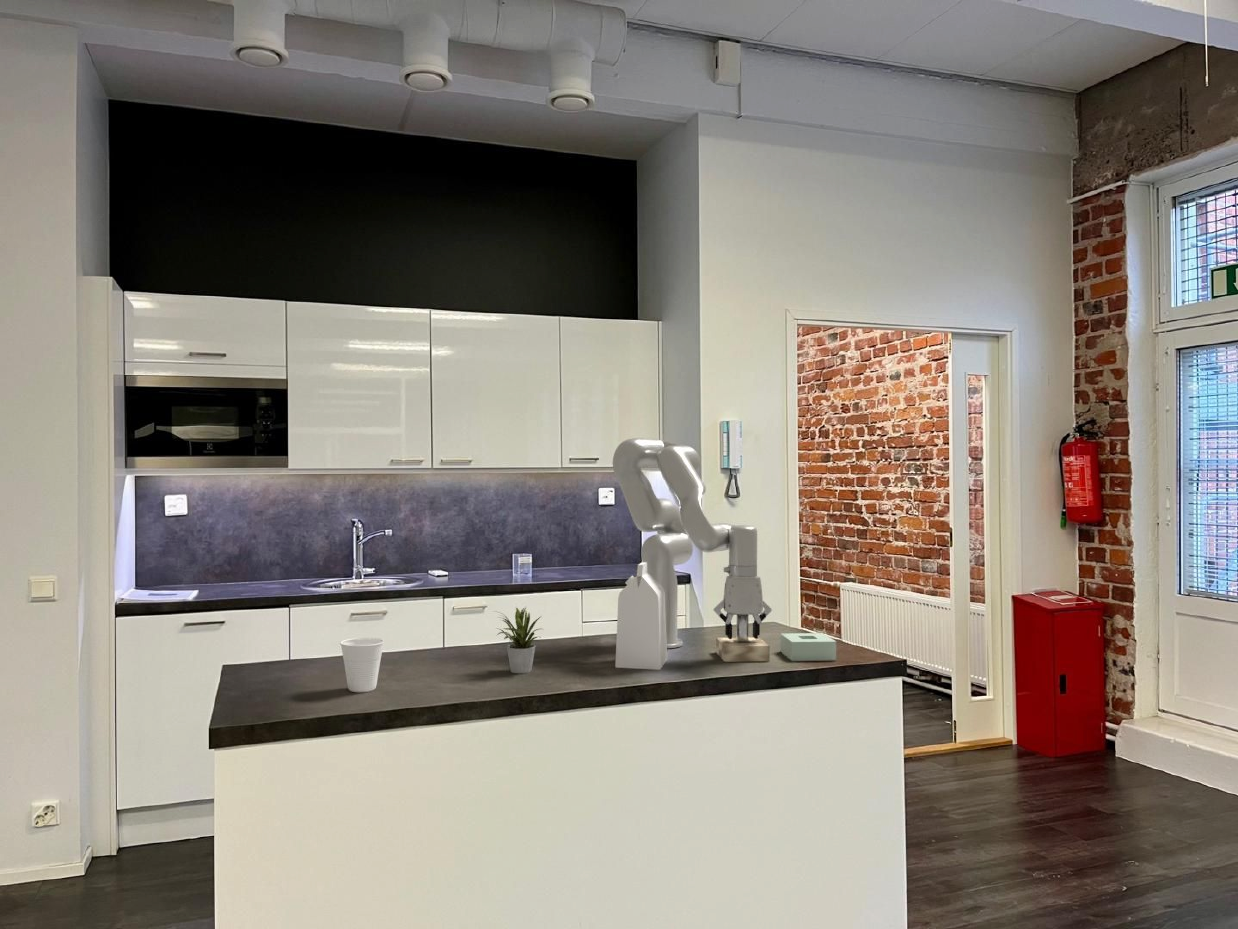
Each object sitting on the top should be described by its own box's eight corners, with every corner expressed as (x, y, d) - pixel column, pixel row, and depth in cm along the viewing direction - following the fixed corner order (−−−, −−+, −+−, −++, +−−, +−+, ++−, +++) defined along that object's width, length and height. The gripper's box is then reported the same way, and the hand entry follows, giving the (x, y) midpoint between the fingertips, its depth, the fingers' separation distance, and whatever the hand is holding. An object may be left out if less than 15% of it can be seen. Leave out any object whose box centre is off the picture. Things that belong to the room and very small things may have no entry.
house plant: (483, 666, 245) (484, 602, 245) (536, 662, 250) (536, 599, 250) (497, 678, 232) (497, 610, 231) (552, 674, 237) (552, 607, 236)
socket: (791, 660, 254) (791, 642, 254) (780, 651, 266) (780, 633, 266) (836, 660, 255) (836, 641, 255) (822, 651, 267) (822, 633, 267)
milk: (660, 669, 242) (660, 566, 242) (615, 667, 245) (616, 565, 244) (667, 659, 254) (667, 561, 254) (624, 657, 256) (625, 560, 256)
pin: (737, 658, 257) (737, 613, 257) (735, 655, 260) (735, 611, 260) (749, 657, 257) (749, 613, 257) (746, 655, 260) (747, 611, 260)
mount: (724, 661, 252) (724, 646, 252) (716, 652, 264) (716, 637, 264) (769, 661, 253) (769, 646, 253) (759, 651, 265) (759, 637, 265)
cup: (388, 684, 225) (388, 637, 225) (379, 695, 215) (379, 645, 215) (345, 684, 225) (345, 637, 224) (334, 695, 215) (334, 645, 215)
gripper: (713, 573, 254) (713, 641, 254) (778, 573, 256) (777, 640, 256) (708, 570, 262) (708, 635, 262) (771, 569, 263) (770, 635, 263)
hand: (742, 637), depth 259 cm, fingers open, 6 cm apart
